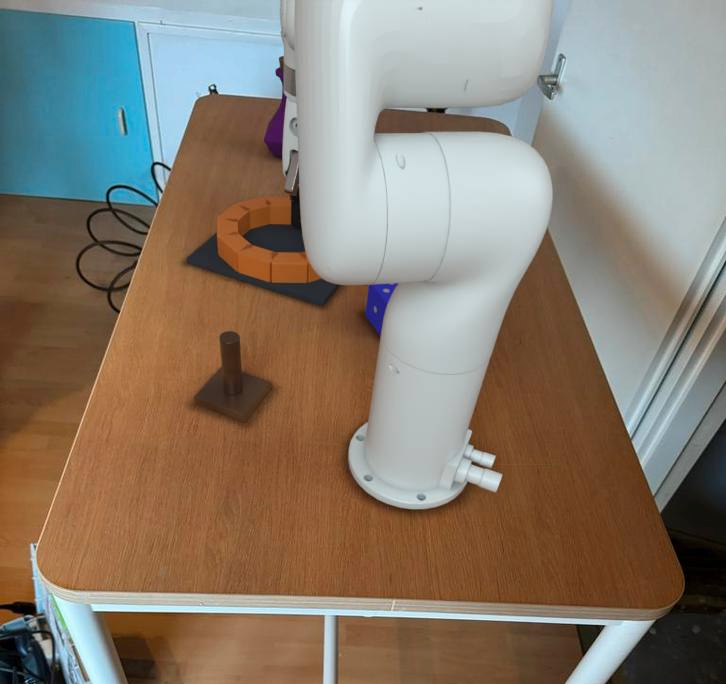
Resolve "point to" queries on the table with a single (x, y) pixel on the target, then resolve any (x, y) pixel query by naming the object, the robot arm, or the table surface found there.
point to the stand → (232, 384)
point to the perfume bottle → (277, 117)
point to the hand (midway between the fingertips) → (308, 220)
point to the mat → (273, 240)
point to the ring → (255, 258)
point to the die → (378, 303)
